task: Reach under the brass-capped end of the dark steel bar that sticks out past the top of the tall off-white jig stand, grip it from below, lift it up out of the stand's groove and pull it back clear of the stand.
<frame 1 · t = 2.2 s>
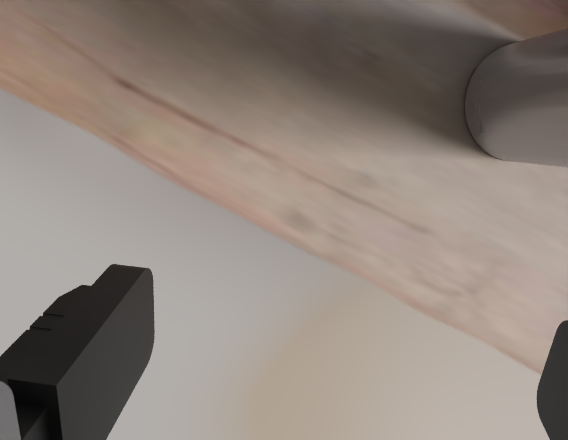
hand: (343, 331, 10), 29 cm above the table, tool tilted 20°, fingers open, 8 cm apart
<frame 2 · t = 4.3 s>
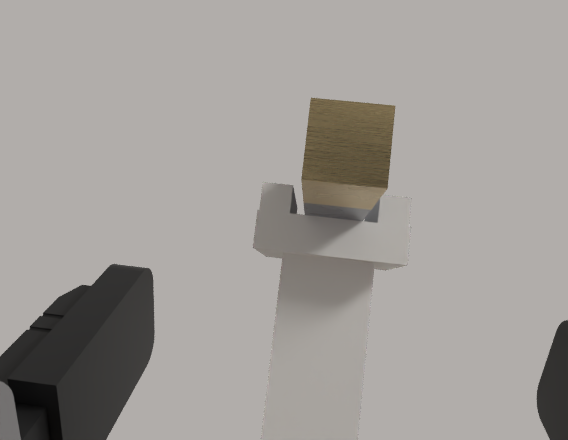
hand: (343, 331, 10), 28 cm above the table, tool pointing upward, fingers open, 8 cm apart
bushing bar: (331, 223, 29), point 32 cm above the table, touching jig stand
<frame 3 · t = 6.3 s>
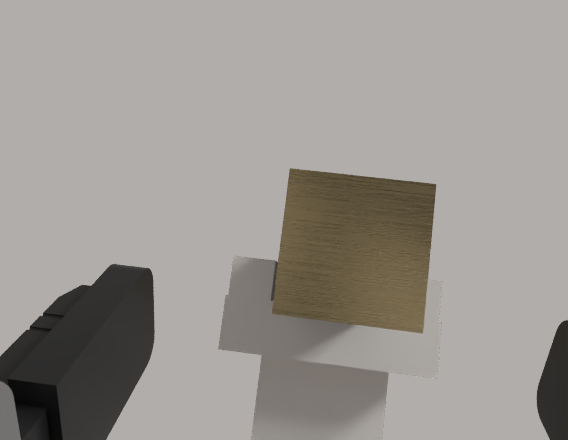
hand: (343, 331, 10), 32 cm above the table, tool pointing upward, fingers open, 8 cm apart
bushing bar: (330, 306, 22), point 32 cm above the table, touching jig stand
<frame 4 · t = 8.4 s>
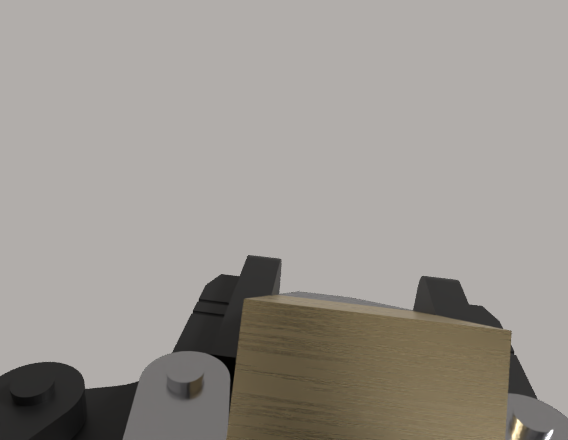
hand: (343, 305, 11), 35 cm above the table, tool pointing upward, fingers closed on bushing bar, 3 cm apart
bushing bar: (324, 390, 17), point 32 cm above the table, touching gripper, jig stand
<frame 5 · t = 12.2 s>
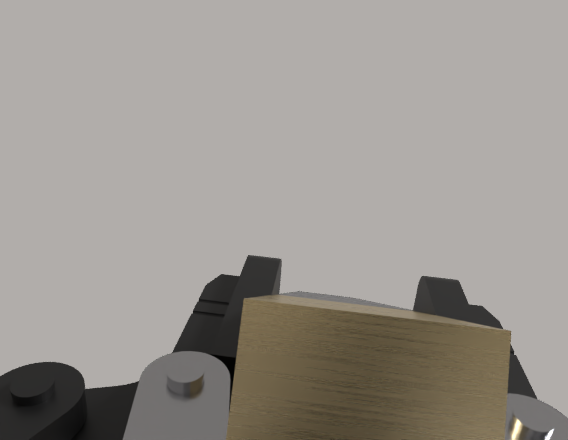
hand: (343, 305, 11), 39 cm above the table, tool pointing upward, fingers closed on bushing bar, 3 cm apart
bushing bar: (324, 390, 17), point 36 cm above the table, touching gripper
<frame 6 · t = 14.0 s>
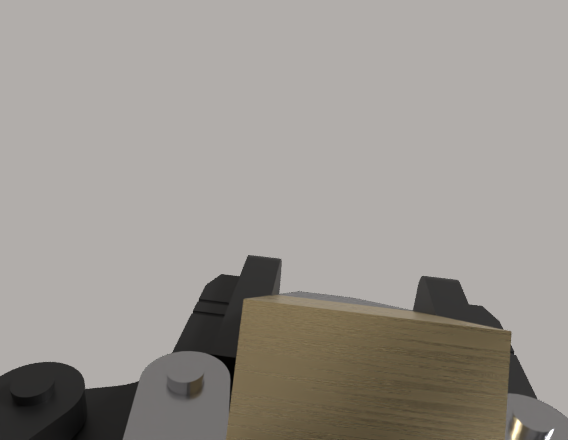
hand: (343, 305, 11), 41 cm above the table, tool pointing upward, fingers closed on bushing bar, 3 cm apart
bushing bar: (324, 390, 17), point 38 cm above the table, touching gripper
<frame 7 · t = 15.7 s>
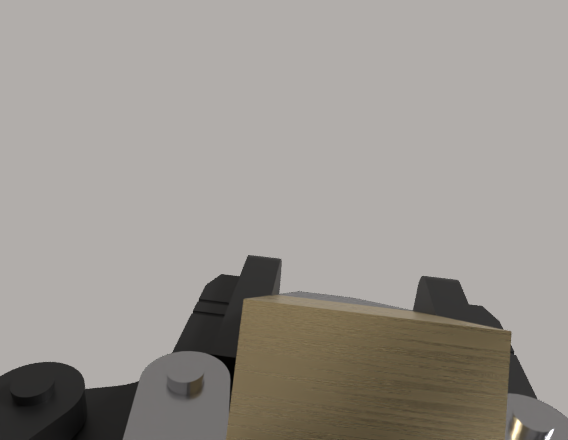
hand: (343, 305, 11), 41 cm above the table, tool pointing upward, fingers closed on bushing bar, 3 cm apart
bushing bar: (324, 390, 17), point 38 cm above the table, touching gripper
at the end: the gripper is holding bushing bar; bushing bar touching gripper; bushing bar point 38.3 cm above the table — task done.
